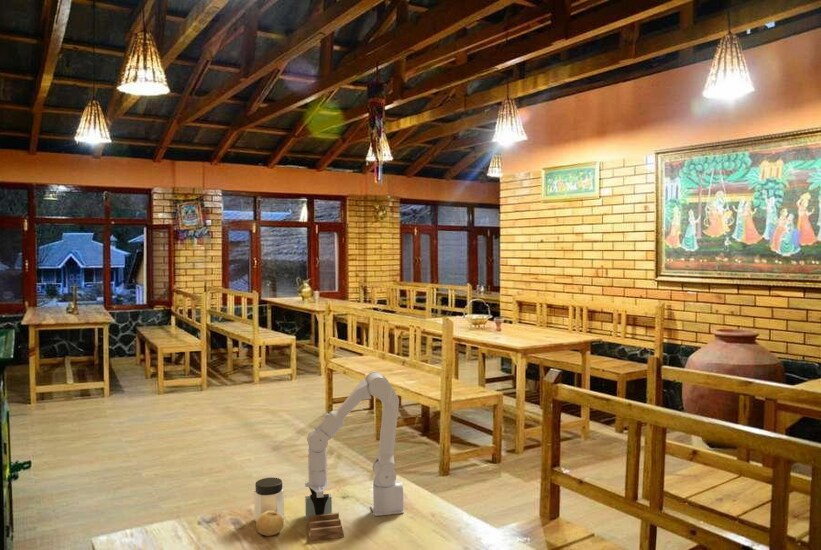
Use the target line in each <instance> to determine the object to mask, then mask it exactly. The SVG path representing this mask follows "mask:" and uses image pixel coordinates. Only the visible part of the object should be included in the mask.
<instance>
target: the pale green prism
mask: <svg viewBox="0 0 821 550" xmlns="http://www.w3.org/2000/svg"><path fill="white" fill-rule="evenodd" d="M328 494H329V497H328V500H327V502H326V505H325V510H324V514H330V513H333V508H332V507H333V506H332V504H333V503H332V493H328ZM304 503H305V510H304V511H305V520H306V521H308V516H312V515H316V514H315V509H314V504H313V502H312V500H311V498H310V495H309V496H308V495H307V496H304Z"/></svg>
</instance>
